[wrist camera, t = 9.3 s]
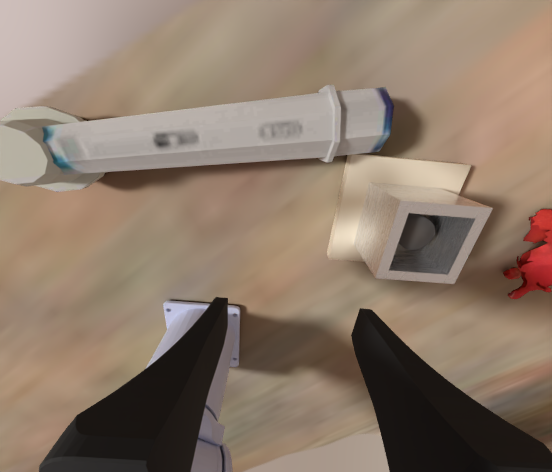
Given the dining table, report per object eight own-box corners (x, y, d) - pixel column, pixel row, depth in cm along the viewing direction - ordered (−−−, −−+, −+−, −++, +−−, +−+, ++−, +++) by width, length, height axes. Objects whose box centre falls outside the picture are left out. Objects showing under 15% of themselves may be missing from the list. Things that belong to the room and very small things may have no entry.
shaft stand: (420, 261, 22) (453, 292, 17) (326, 253, 21) (338, 283, 17) (461, 163, 18) (516, 173, 14) (347, 152, 17) (368, 159, 13)
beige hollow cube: (414, 248, 20) (454, 284, 15) (353, 244, 20) (375, 278, 15) (438, 187, 18) (493, 208, 13) (369, 182, 17) (400, 200, 13)
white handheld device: (389, 166, 14) (-43, 213, 12) (346, 156, 20) (51, 187, 18) (402, 65, 12) (-122, 103, 10) (349, 87, 18) (14, 114, 16)
